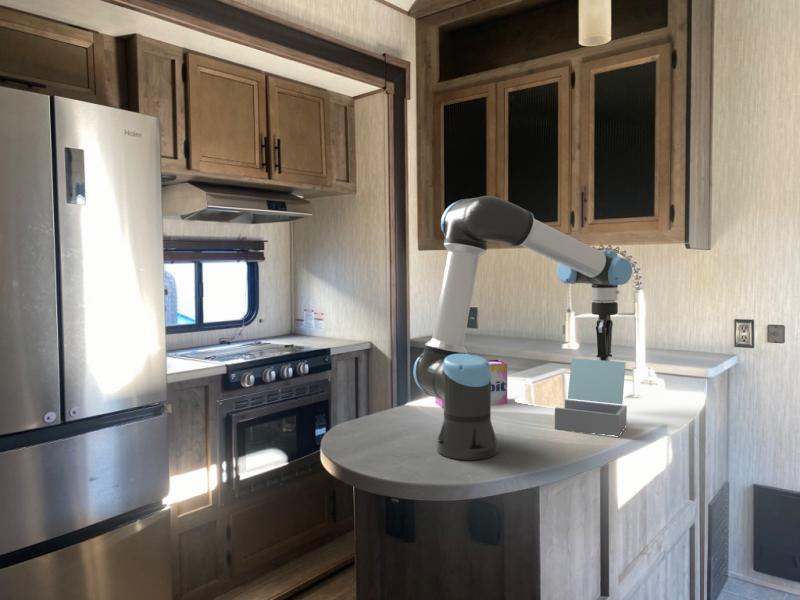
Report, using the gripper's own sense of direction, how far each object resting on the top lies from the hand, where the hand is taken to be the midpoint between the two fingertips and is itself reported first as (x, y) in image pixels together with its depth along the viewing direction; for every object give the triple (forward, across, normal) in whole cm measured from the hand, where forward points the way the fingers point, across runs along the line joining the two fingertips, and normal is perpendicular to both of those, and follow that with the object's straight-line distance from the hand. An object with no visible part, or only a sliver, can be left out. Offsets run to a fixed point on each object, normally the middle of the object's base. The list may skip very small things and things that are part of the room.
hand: (604, 378), depth 185 cm
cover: (-1, -11, 0) cm, 11 cm away
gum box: (+11, -8, +41) cm, 43 cm away
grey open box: (+11, -19, 0) cm, 22 cm away
